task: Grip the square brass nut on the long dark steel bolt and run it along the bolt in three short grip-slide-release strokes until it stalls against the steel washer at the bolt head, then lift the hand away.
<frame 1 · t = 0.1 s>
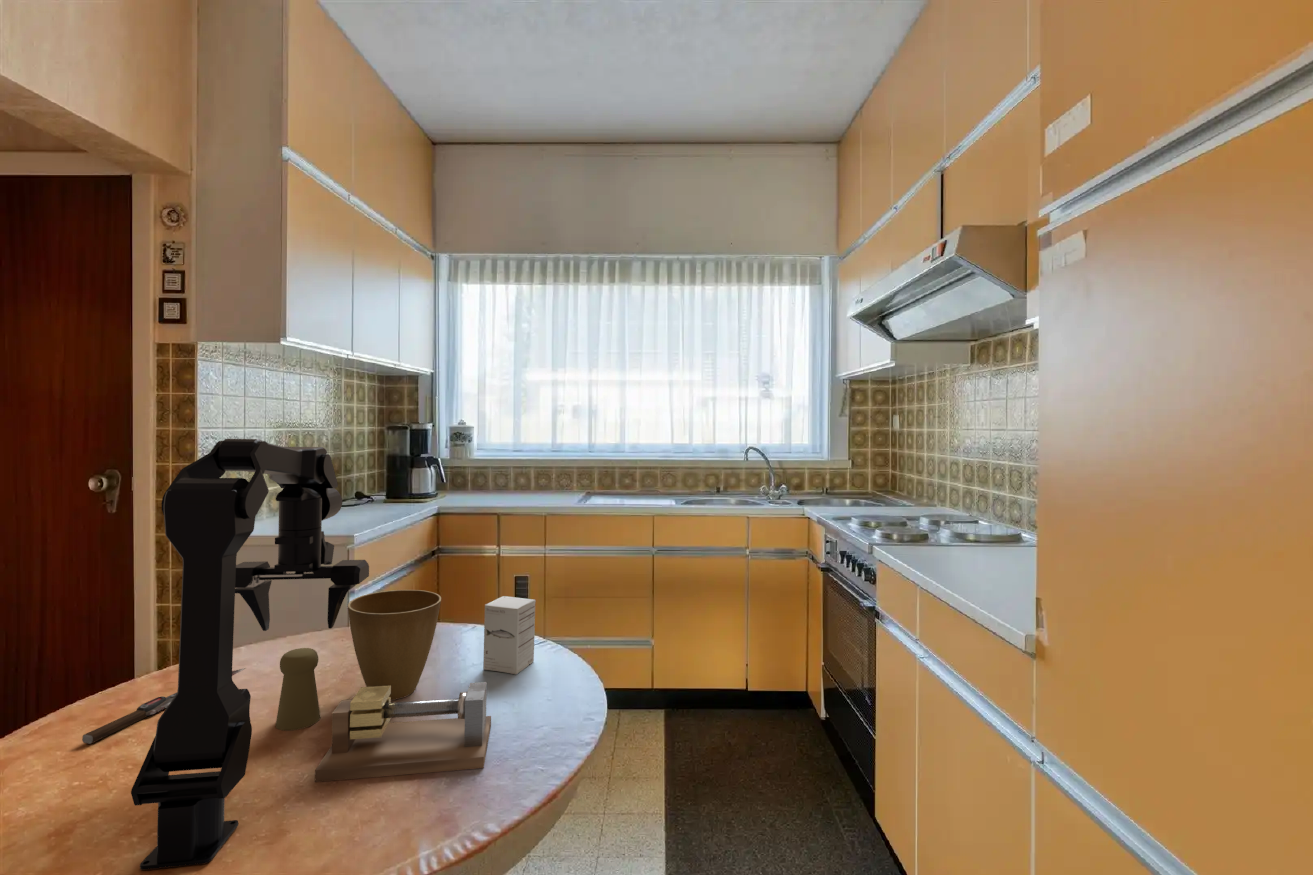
hand: (298, 628, 93), 15 cm above the table, tool pointing down, fingers open, 9 cm apart
supplement box: (509, 666, 117), on the table
knife: (178, 702, 100), on the table
bolt: (416, 717, 85), point 5 cm above the table
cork: (298, 722, 93), on the table
jig: (411, 750, 85), on the table
plant pot: (394, 692, 105), on the table
nut: (371, 711, 84), point 6 cm above the table, slide at 0.0 cm
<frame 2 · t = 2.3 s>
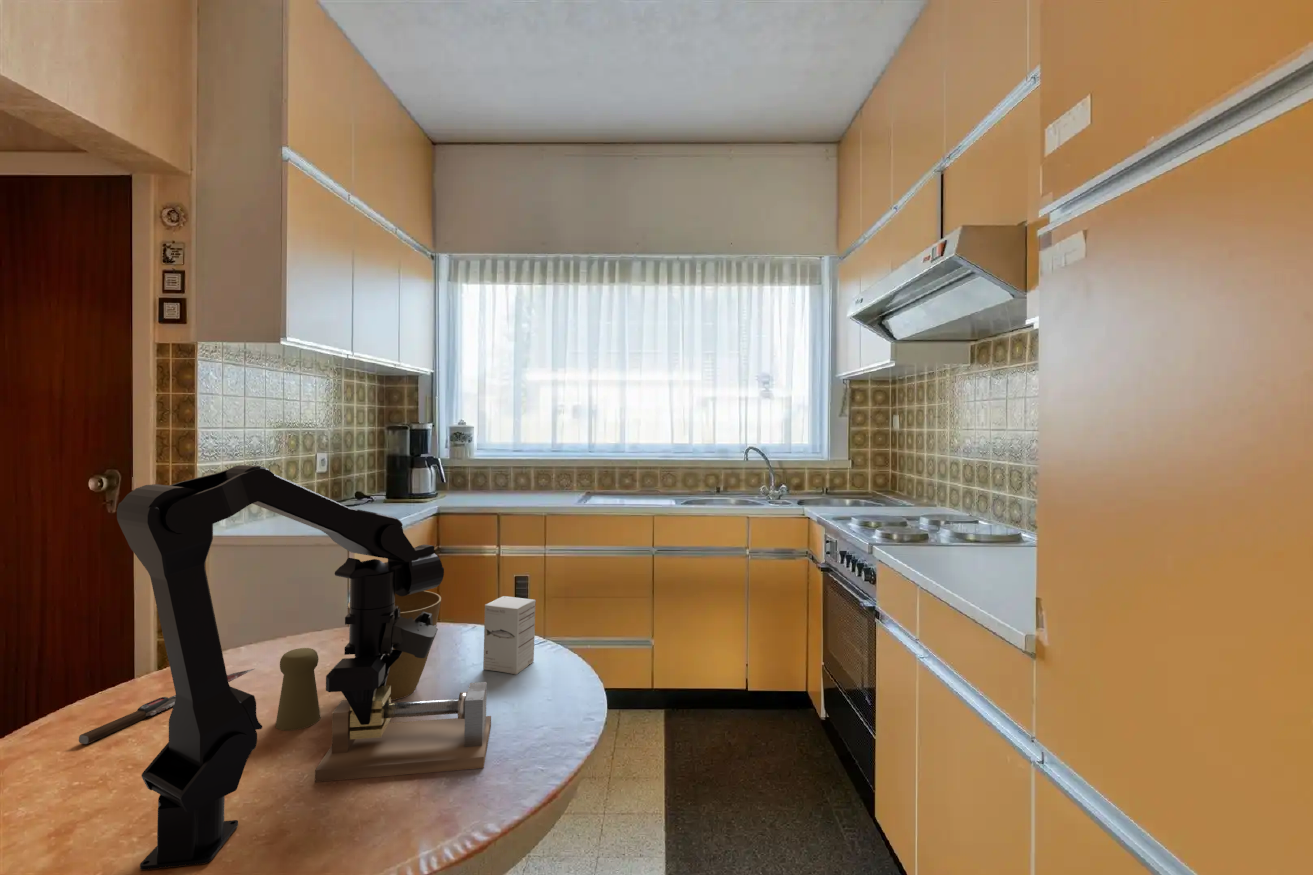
hand: (370, 714, 84), 6 cm above the table, tool pointing down, fingers closed on nut, 5 cm apart
nut: (371, 711, 84), point 6 cm above the table, slide at 0.0 cm, touching gripper
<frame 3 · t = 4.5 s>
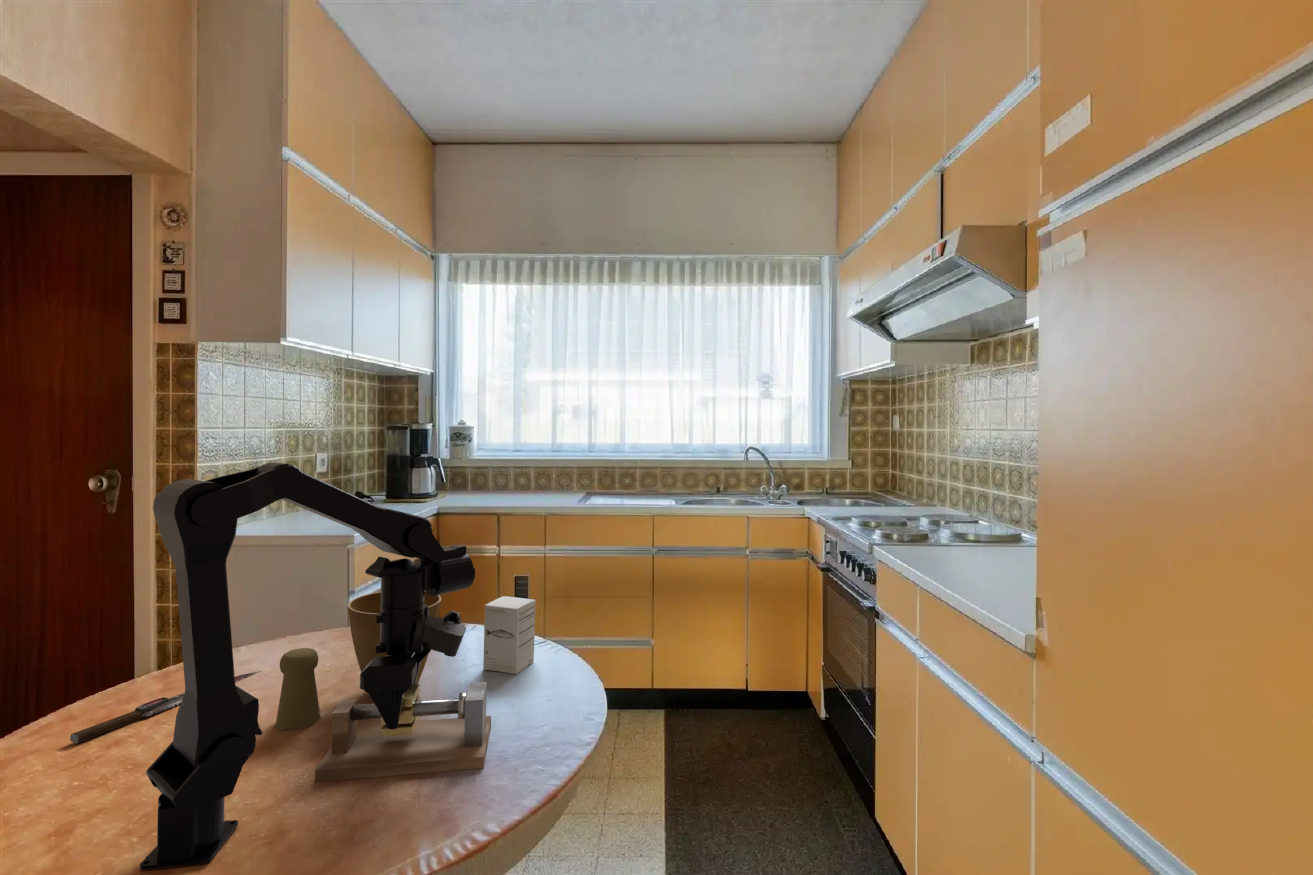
hand: (401, 712, 85), 6 cm above the table, tool pointing down, fingers open, 9 cm apart
nut: (400, 709, 85), point 6 cm above the table, slide at 3.9 cm
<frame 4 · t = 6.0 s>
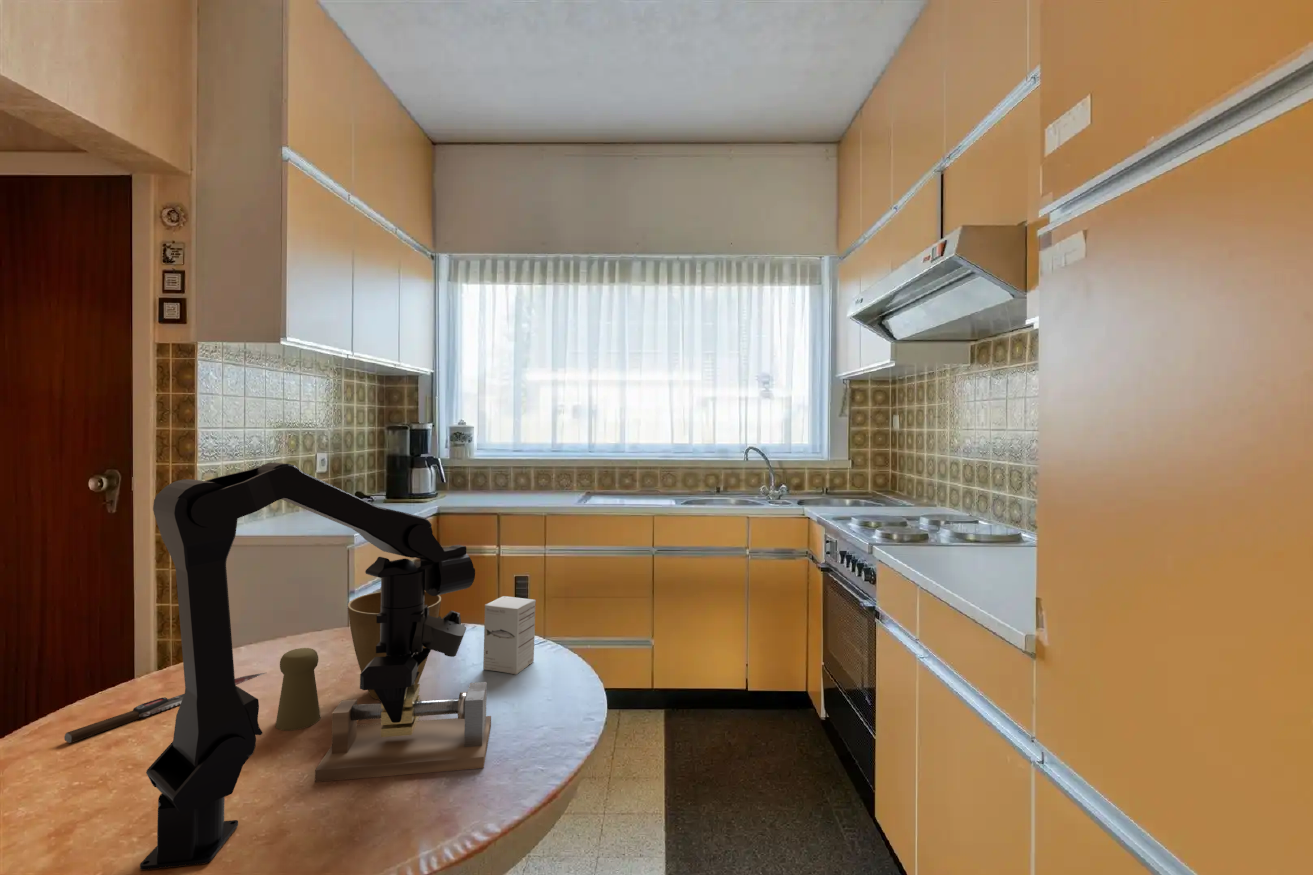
hand: (401, 712, 85), 6 cm above the table, tool pointing down, fingers closed on nut, 5 cm apart
nut: (400, 709, 85), point 6 cm above the table, slide at 3.9 cm, touching gripper
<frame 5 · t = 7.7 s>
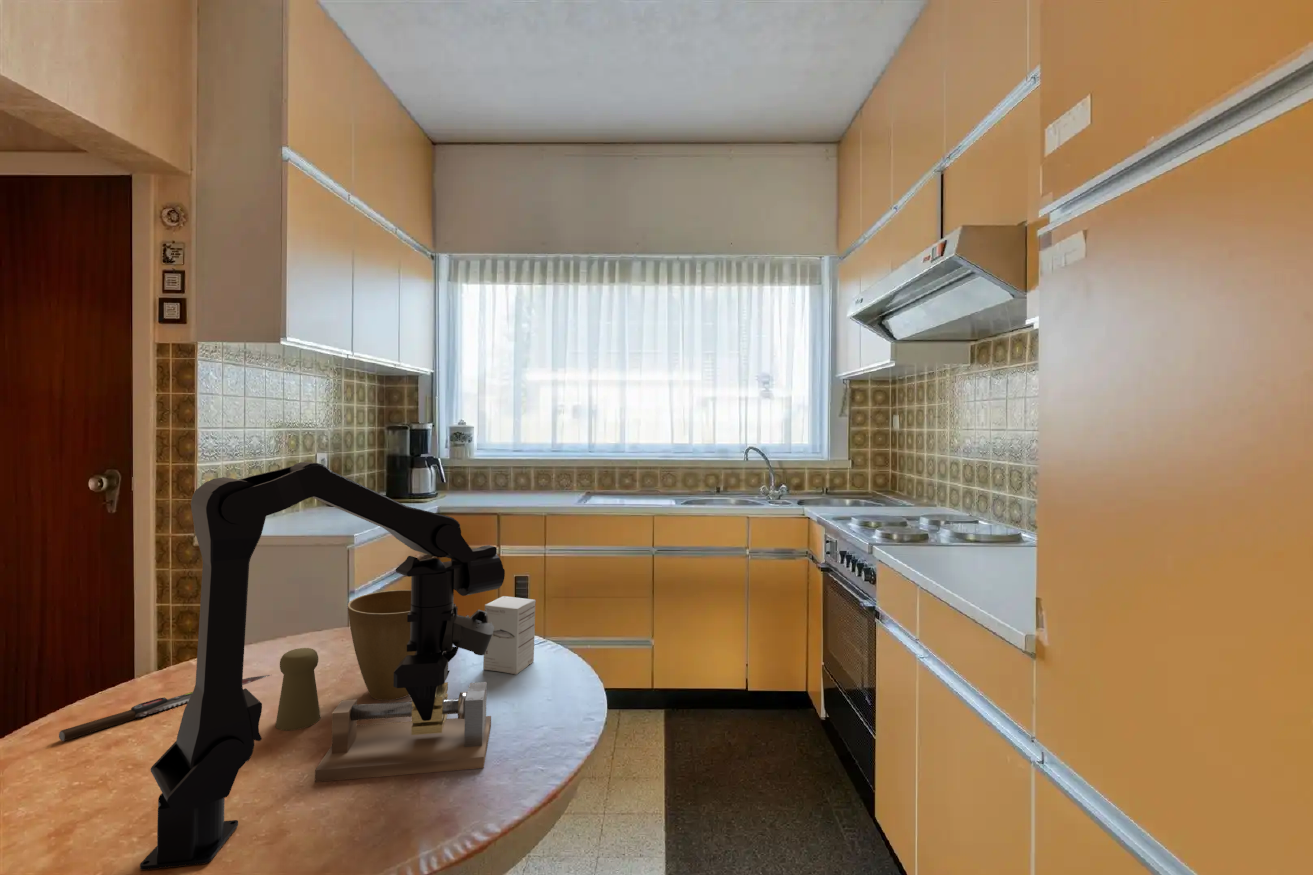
hand: (430, 711, 86), 6 cm above the table, tool pointing down, fingers open, 5 cm apart
nut: (430, 707, 86), point 6 cm above the table, slide at 7.9 cm
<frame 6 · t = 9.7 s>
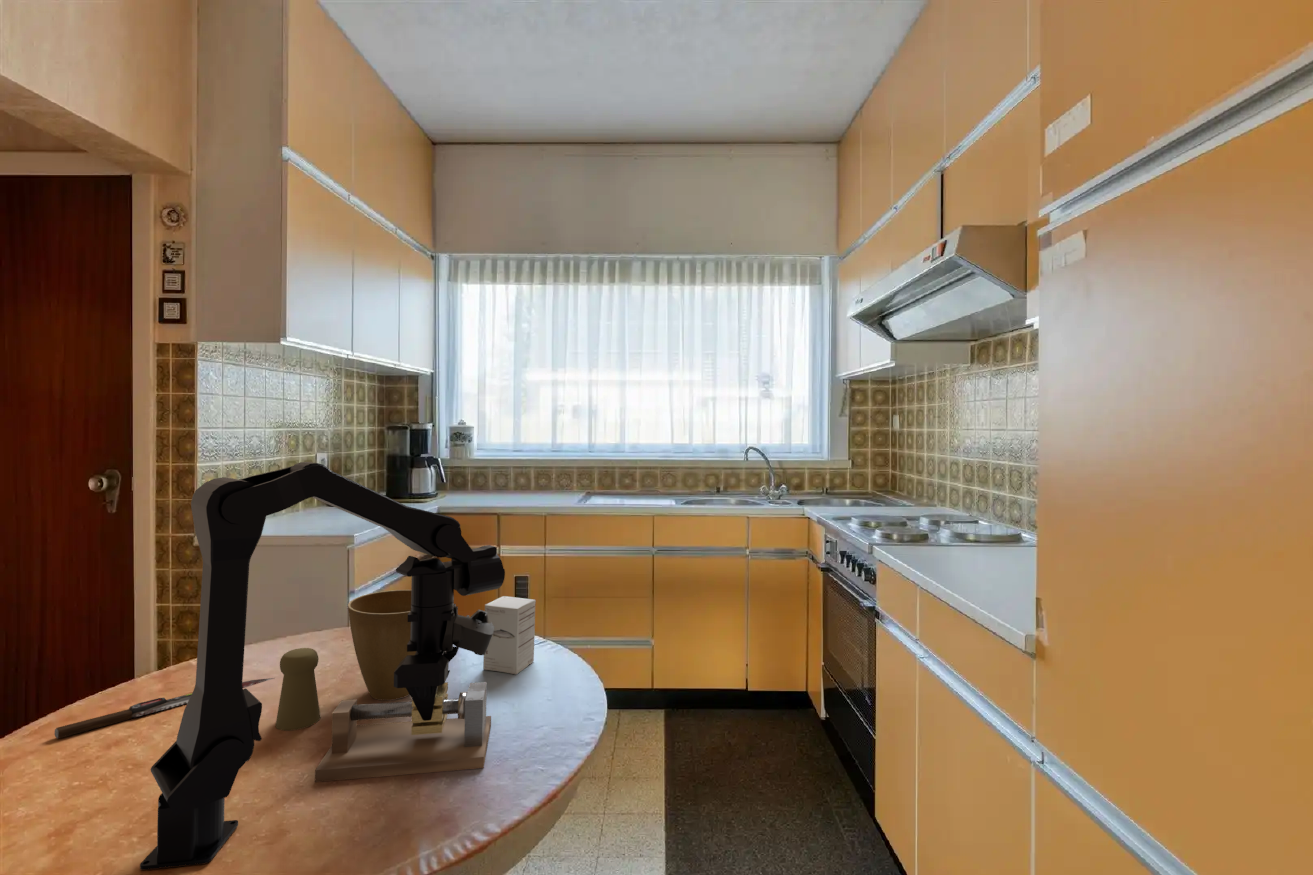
hand: (430, 711, 86), 6 cm above the table, tool pointing down, fingers closed on nut, 5 cm apart
nut: (430, 707, 86), point 6 cm above the table, slide at 7.9 cm, touching gripper
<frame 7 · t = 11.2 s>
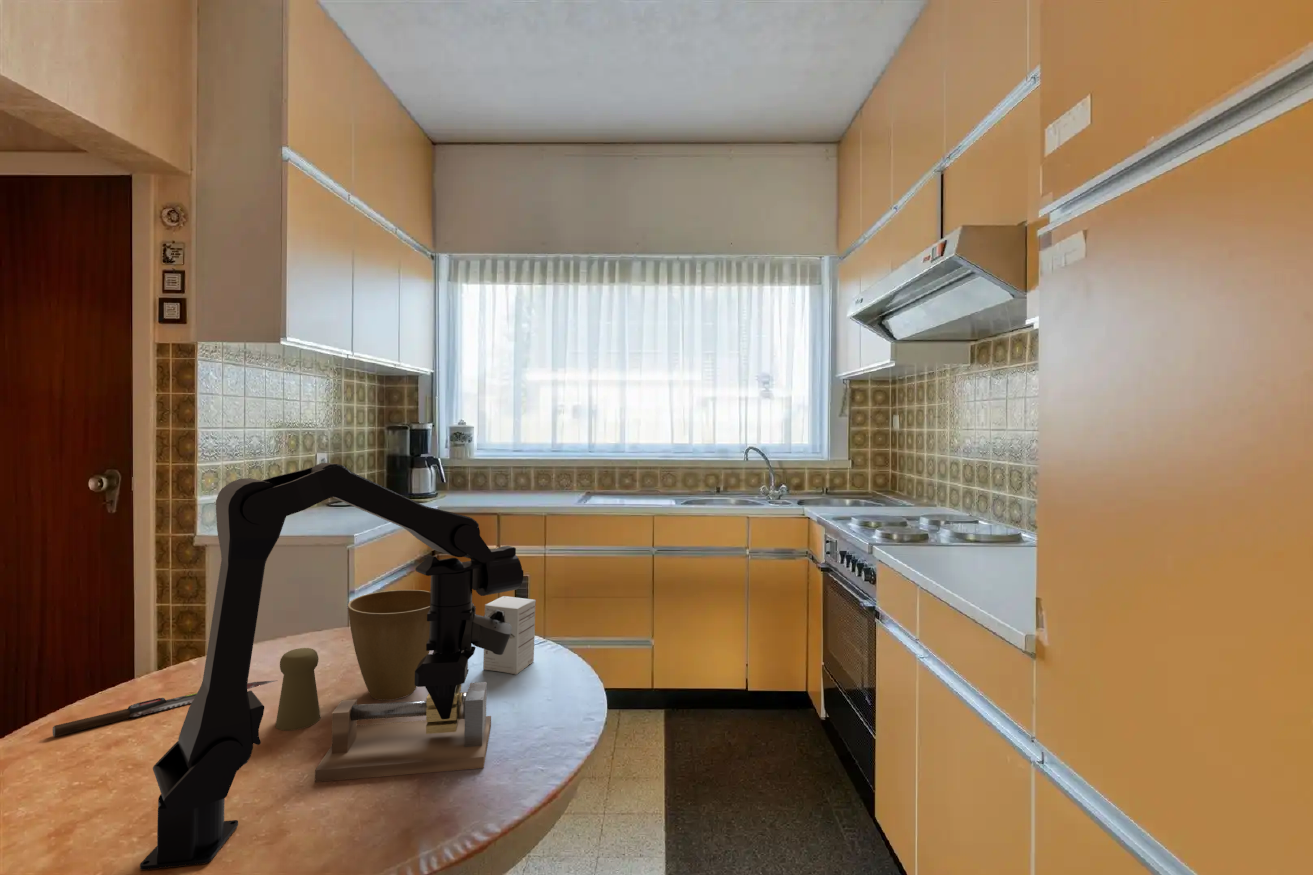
hand: (448, 709, 86), 6 cm above the table, tool pointing down, fingers closed on nut, 5 cm apart
nut: (444, 706, 86), point 6 cm above the table, slide at 9.8 cm, touching gripper
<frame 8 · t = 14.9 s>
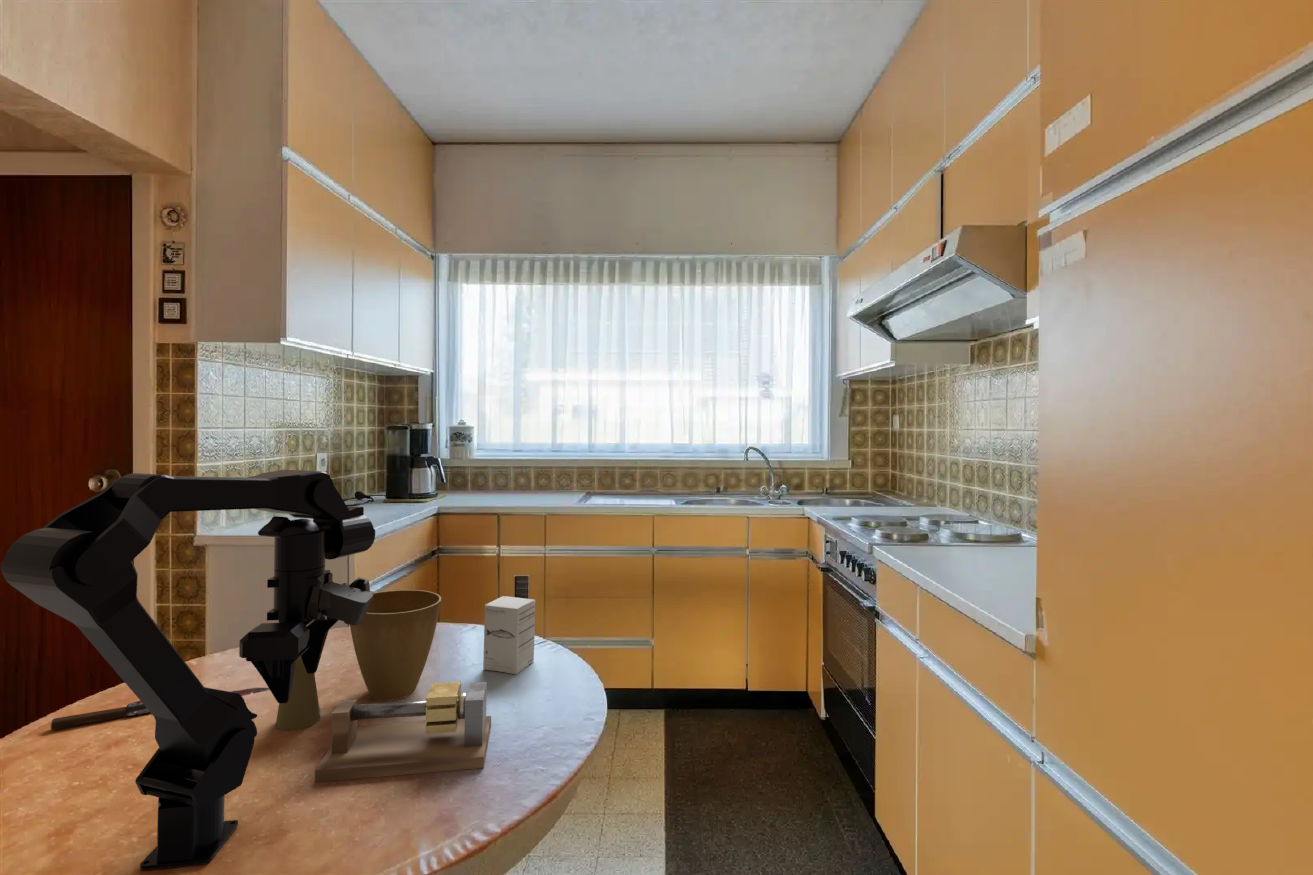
hand: (298, 686, 78), 12 cm above the table, tool pointing down, fingers open, 9 cm apart
nut: (443, 706, 86), point 6 cm above the table, slide at 9.7 cm
at the end: nut slide at 9.7 cm; the gripper is holding nothing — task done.
